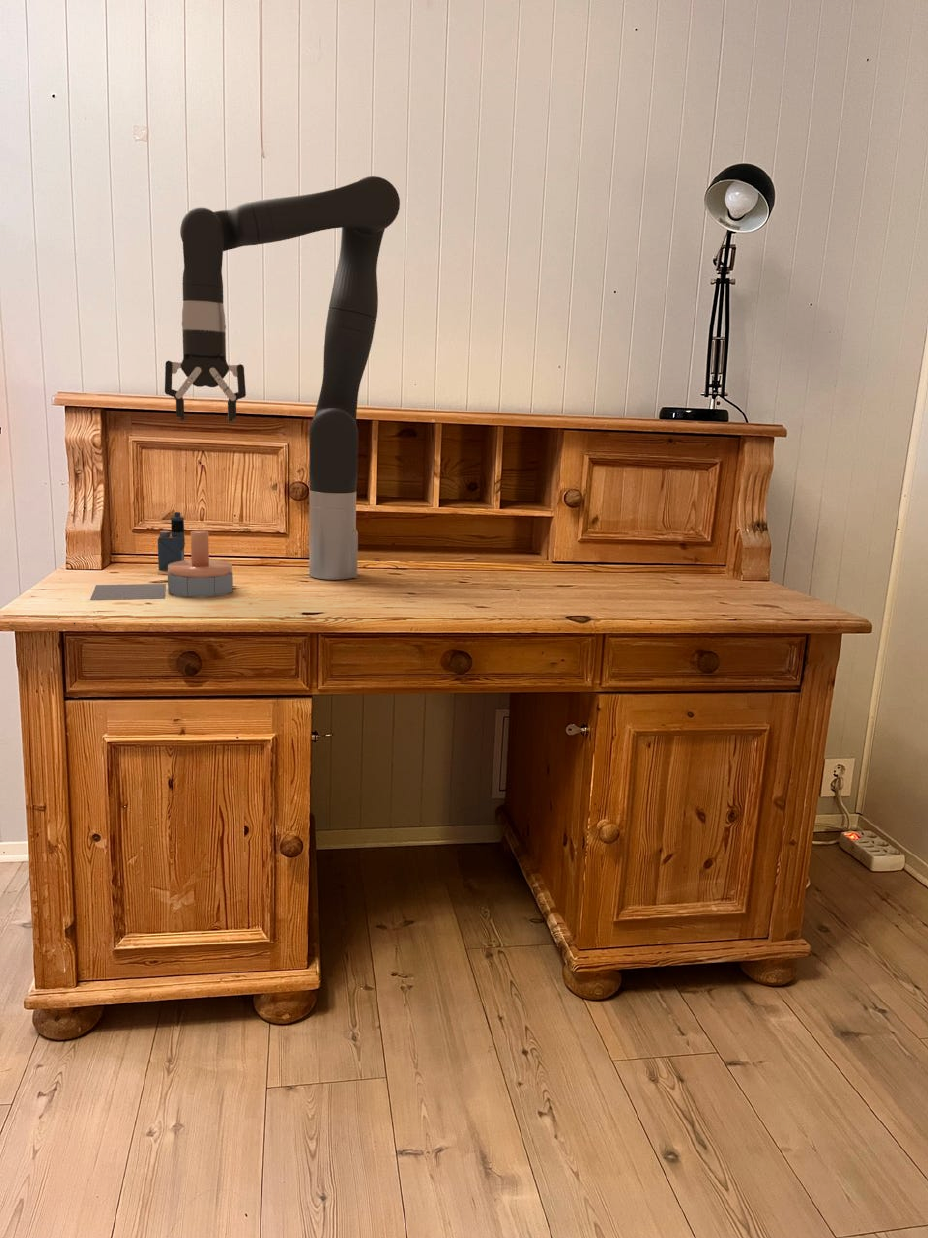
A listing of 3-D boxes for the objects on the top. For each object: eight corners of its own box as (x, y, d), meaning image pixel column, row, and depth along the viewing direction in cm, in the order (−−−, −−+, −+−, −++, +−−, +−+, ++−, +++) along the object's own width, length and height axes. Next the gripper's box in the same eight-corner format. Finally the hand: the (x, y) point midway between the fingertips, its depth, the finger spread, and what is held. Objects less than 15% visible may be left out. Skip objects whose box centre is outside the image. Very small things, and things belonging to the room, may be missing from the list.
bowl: (230, 586, 168) (230, 565, 167) (233, 599, 158) (233, 577, 157) (168, 587, 165) (168, 566, 164) (168, 601, 154) (167, 578, 154)
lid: (230, 565, 167) (229, 527, 165) (233, 577, 157) (233, 536, 155) (168, 566, 164) (167, 527, 162) (167, 578, 154) (166, 536, 152)
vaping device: (183, 574, 177) (181, 513, 174) (156, 572, 177) (154, 512, 174) (187, 571, 179) (185, 511, 177) (161, 570, 179) (159, 510, 177)
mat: (166, 587, 165) (165, 583, 165) (165, 601, 154) (165, 598, 154) (96, 588, 161) (95, 585, 161) (89, 603, 150) (89, 600, 150)
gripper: (243, 332, 167) (244, 421, 171) (162, 327, 163) (166, 418, 167) (245, 330, 160) (247, 423, 164) (162, 325, 156) (165, 420, 160)
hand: (206, 420), depth 166 cm, fingers open, 8 cm apart
